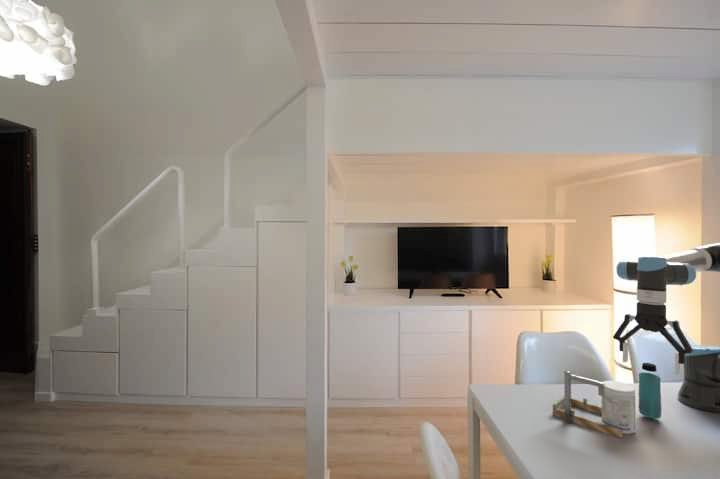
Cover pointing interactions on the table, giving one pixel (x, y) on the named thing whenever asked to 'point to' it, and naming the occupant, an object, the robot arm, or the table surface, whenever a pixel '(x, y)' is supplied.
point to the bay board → (607, 429)
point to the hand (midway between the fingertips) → (650, 367)
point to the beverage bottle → (649, 392)
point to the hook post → (567, 391)
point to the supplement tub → (619, 406)
